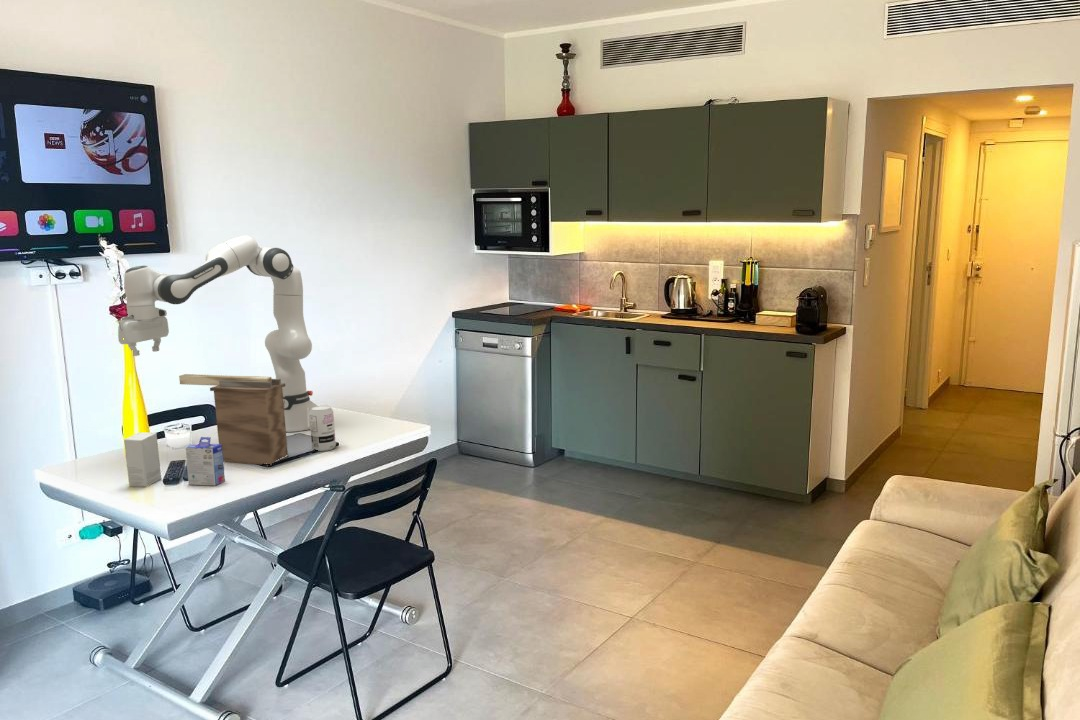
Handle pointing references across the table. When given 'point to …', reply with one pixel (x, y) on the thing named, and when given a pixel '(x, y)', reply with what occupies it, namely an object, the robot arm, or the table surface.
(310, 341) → the robot arm
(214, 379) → the wooden bar
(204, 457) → the ink cartridge box
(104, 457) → the table surface
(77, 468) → the table surface
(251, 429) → the tall wooden crate
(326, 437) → the supplement can
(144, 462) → the skincare box
